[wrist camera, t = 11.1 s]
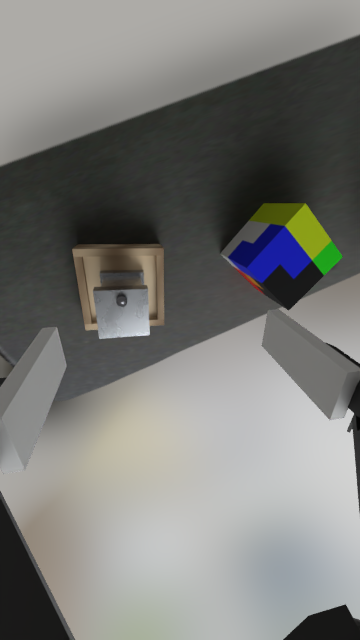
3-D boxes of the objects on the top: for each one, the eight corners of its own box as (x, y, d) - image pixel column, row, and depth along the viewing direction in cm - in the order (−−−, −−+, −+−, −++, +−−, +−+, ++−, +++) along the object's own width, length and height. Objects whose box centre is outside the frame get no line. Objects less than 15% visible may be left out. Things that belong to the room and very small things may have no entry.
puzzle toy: (219, 253, 40) (246, 267, 31) (263, 203, 38) (305, 203, 29) (256, 288, 44) (288, 310, 35) (297, 245, 42) (342, 256, 33)
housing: (144, 307, 38) (150, 337, 29) (105, 309, 37) (98, 341, 28) (143, 269, 35) (148, 290, 27) (100, 270, 34) (92, 292, 26)
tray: (159, 243, 37) (163, 248, 34) (160, 314, 42) (164, 324, 39) (77, 244, 35) (72, 249, 31) (89, 319, 40) (85, 330, 37)
